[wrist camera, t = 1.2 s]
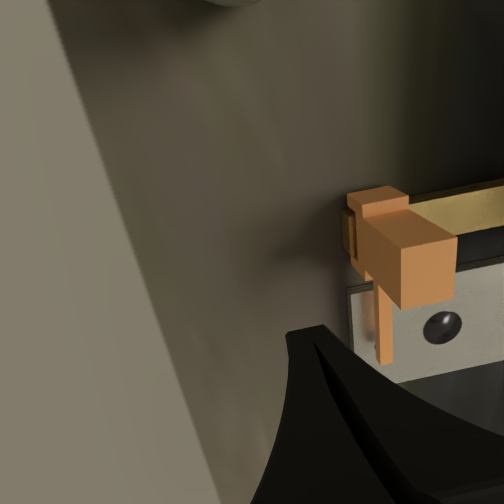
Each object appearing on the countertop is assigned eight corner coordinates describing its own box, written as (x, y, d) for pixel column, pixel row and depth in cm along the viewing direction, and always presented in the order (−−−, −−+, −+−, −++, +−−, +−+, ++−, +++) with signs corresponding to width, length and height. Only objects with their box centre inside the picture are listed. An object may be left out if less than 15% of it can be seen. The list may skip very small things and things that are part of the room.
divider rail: (585, 144, 21) (733, 165, 15) (552, 302, 26) (657, 366, 20) (339, 193, 21) (394, 234, 15) (350, 346, 25) (395, 425, 19)
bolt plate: (565, 242, 24) (577, 248, 23) (544, 341, 27) (555, 349, 26) (346, 288, 23) (351, 295, 22) (353, 383, 26) (357, 392, 26)
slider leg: (388, 185, 20) (458, 221, 15) (390, 340, 25) (445, 413, 19) (346, 193, 20) (401, 233, 15) (356, 348, 25) (400, 424, 19)
